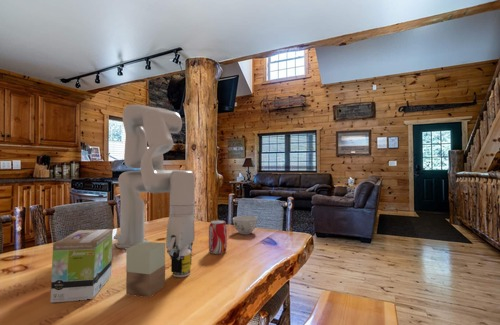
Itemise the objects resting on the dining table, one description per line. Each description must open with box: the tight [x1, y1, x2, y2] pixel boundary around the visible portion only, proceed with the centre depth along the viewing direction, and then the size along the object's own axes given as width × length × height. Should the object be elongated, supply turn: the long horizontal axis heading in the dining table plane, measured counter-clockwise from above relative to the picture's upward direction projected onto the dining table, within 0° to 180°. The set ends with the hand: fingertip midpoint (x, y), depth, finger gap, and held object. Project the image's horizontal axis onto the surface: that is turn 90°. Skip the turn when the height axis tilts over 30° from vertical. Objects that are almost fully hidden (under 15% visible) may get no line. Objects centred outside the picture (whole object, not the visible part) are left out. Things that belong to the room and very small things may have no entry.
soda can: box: [208, 219, 228, 255], centre depth 104 cm, size 7×7×12 cm
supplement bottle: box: [172, 245, 192, 278], centre depth 83 cm, size 5×5×10 cm
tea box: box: [49, 228, 113, 303], centre depth 73 cm, size 15×10×15 cm, turn 12°
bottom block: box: [125, 264, 166, 299], centre depth 72 cm, size 7×7×6 cm
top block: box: [125, 241, 166, 274], centre depth 72 cm, size 7×7×6 cm
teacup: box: [232, 215, 258, 235], centre depth 134 cm, size 15×12×8 cm
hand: (181, 267), depth 83 cm, fingers closed on supplement bottle, 5 cm apart
